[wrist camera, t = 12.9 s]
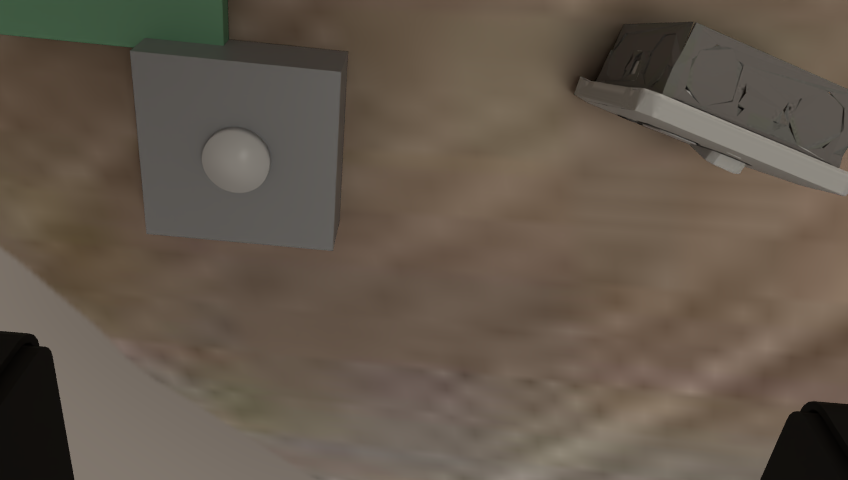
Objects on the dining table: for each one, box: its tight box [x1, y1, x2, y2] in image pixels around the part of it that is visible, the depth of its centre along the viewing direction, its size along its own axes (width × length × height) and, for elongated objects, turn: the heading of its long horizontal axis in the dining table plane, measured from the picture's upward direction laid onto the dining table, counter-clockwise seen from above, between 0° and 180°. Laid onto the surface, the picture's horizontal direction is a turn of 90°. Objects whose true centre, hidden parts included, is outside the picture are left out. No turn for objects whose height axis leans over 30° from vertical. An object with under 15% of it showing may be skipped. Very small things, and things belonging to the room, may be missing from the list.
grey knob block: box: [130, 38, 348, 251], centre depth 37 cm, size 9×9×4 cm
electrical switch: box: [574, 22, 848, 196], centre depth 33 cm, size 9×5×9 cm, turn 68°
